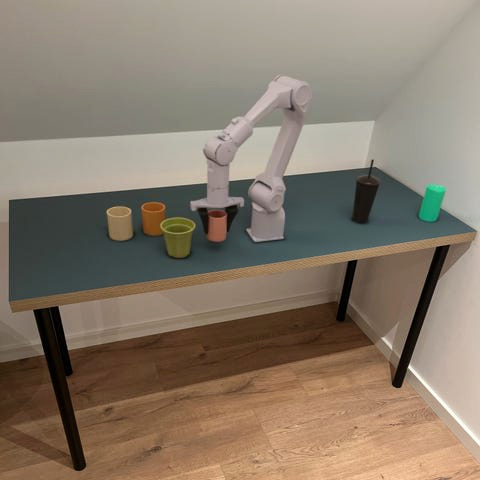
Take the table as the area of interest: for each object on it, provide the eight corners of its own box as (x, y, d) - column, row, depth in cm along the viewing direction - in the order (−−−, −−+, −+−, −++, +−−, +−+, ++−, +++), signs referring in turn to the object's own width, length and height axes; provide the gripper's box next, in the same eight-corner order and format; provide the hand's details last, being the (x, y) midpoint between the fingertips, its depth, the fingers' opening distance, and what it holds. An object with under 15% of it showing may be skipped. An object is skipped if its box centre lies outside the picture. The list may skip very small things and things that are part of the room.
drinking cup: (371, 227, 163) (385, 165, 151) (347, 223, 164) (359, 162, 152) (371, 216, 169) (385, 157, 157) (348, 213, 170) (360, 154, 158)
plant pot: (164, 263, 139) (163, 234, 134) (159, 246, 146) (157, 218, 141) (198, 259, 141) (198, 231, 136) (191, 243, 148) (191, 216, 143)
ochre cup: (163, 224, 157) (162, 201, 153) (168, 234, 152) (167, 211, 148) (141, 226, 155) (139, 203, 151) (145, 236, 150) (143, 213, 146)
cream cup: (131, 228, 154) (129, 205, 149) (134, 239, 149) (132, 215, 144) (108, 231, 152) (105, 207, 147) (110, 241, 147) (108, 217, 142)
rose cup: (223, 231, 147) (223, 208, 143) (228, 240, 143) (229, 217, 139) (204, 233, 146) (204, 210, 141) (209, 242, 141) (209, 219, 137)
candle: (416, 218, 170) (426, 184, 163) (420, 212, 174) (430, 178, 167) (435, 223, 168) (445, 188, 161) (438, 216, 172) (449, 182, 165)
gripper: (239, 177, 140) (236, 222, 148) (187, 181, 136) (188, 227, 144) (247, 187, 135) (244, 233, 143) (194, 191, 131) (194, 239, 139)
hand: (216, 231), depth 143 cm, fingers closed on rose cup, 5 cm apart
